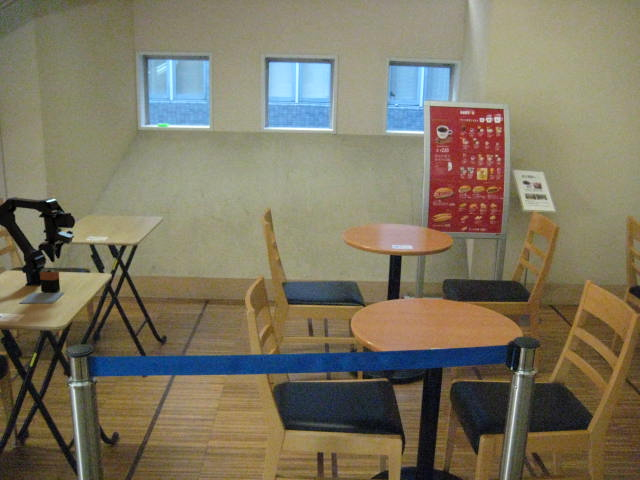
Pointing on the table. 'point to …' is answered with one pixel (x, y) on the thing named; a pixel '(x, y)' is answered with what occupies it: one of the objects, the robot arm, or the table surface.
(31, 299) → the mat
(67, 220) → the robot arm
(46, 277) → the battery
